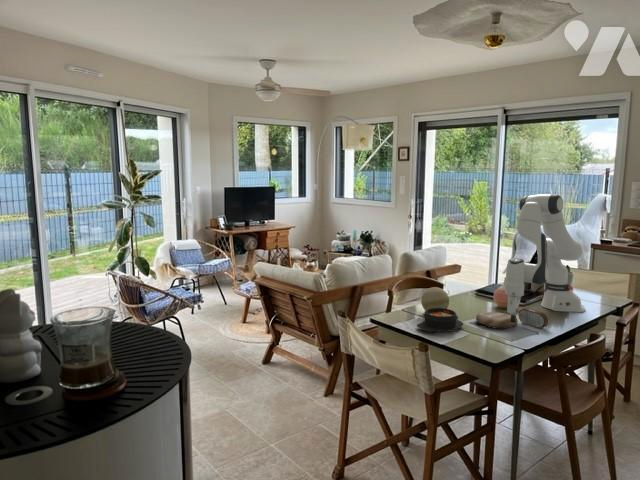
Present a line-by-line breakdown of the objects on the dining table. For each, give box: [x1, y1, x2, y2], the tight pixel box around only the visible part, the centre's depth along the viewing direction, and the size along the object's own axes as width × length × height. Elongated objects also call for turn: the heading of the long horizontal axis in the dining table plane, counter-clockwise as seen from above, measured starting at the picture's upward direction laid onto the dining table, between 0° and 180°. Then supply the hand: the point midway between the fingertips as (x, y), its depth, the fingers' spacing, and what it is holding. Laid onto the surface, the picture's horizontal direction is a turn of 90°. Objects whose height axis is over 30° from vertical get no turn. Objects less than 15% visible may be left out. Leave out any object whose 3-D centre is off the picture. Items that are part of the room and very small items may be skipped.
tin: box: [517, 307, 549, 329], centre depth 243 cm, size 15×3×8 cm, turn 34°
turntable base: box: [487, 325, 508, 329], centre depth 247 cm, size 14×14×2 cm
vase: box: [493, 276, 508, 310], centre depth 273 cm, size 14×14×18 cm
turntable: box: [475, 311, 518, 328], centre depth 247 cm, size 20×20×4 cm
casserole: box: [416, 308, 464, 333], centre depth 241 cm, size 25×19×8 cm
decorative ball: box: [420, 286, 450, 311], centre depth 262 cm, size 15×15×15 cm
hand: (512, 317), depth 243 cm, fingers closed
